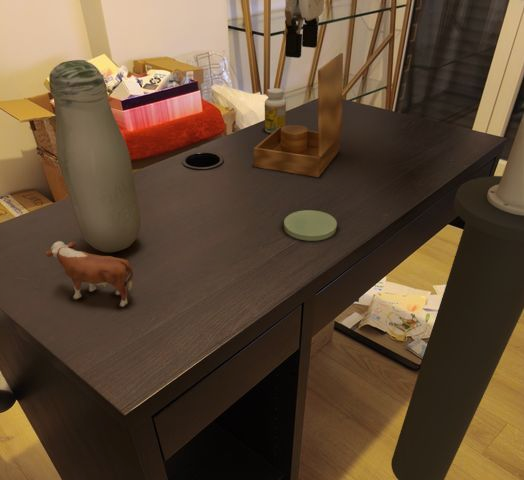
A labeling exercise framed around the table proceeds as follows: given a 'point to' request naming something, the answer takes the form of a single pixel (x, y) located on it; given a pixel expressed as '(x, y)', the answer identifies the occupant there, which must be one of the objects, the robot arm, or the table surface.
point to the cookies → (294, 139)
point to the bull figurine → (93, 269)
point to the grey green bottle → (94, 157)
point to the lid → (330, 102)
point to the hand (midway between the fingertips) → (301, 51)
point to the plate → (310, 225)
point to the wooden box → (294, 155)
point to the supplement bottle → (274, 110)
